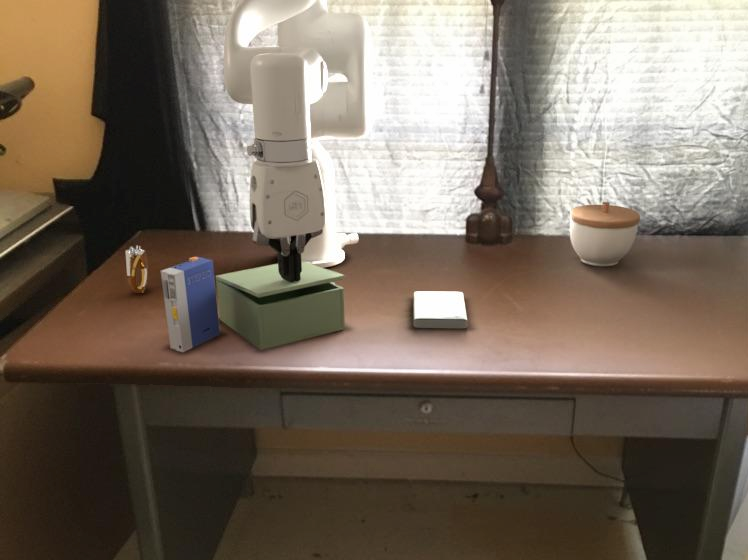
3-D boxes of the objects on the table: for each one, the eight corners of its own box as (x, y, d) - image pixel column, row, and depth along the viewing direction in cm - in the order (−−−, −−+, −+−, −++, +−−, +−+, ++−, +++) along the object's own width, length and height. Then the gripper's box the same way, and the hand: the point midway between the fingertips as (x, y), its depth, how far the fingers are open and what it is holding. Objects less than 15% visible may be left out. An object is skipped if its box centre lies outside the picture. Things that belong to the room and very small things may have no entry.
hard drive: (467, 319, 129) (463, 290, 140) (413, 318, 129) (413, 290, 140) (467, 329, 130) (462, 300, 141) (413, 328, 130) (413, 299, 141)
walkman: (206, 331, 128) (198, 254, 123) (220, 334, 127) (212, 257, 121) (168, 348, 122) (158, 268, 117) (182, 352, 121) (172, 272, 115)
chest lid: (345, 279, 125) (345, 275, 125) (258, 297, 118) (258, 293, 117) (298, 263, 136) (297, 259, 136) (216, 279, 129) (215, 275, 129)
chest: (344, 329, 129) (343, 288, 126) (261, 350, 122) (257, 307, 119) (299, 302, 139) (297, 263, 136) (219, 319, 132) (216, 279, 129)
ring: (141, 300, 140) (135, 253, 136) (123, 299, 140) (116, 252, 136) (158, 286, 146) (152, 241, 142) (140, 285, 146) (134, 240, 142)
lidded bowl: (642, 257, 162) (650, 200, 157) (620, 275, 152) (628, 214, 147) (580, 246, 168) (586, 191, 163) (555, 263, 158) (560, 204, 153)
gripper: (245, 161, 109) (255, 296, 117) (344, 149, 117) (347, 277, 125) (221, 151, 114) (232, 281, 123) (317, 141, 122) (322, 264, 130)
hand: (290, 278), depth 124 cm, fingers closed
